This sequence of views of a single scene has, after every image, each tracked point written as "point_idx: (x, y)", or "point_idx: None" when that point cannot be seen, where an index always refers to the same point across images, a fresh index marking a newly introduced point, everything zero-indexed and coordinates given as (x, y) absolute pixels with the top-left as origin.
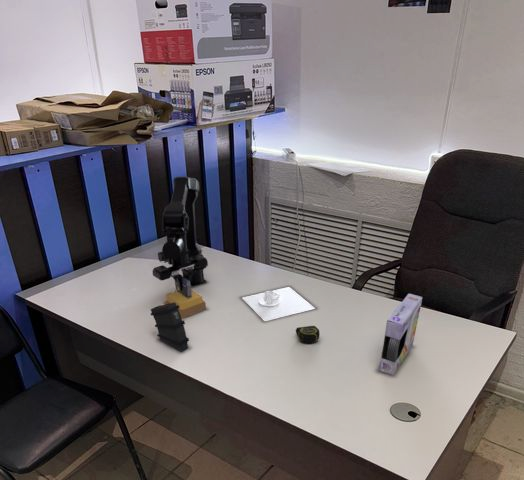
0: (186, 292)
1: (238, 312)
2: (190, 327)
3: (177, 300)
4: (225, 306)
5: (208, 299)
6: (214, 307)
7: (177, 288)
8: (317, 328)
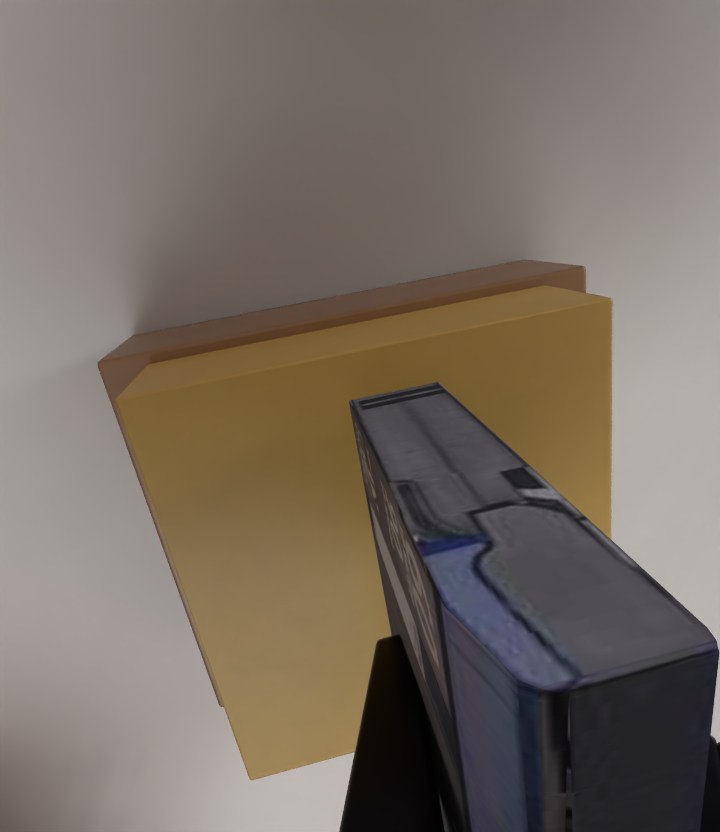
0: None
1: (715, 692)
2: (275, 777)
3: (253, 678)
4: (708, 568)
5: (683, 356)
6: (625, 546)
7: (373, 501)
8: None
